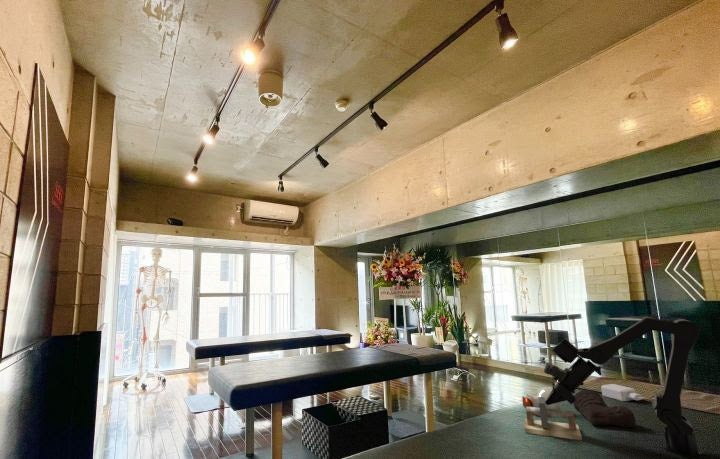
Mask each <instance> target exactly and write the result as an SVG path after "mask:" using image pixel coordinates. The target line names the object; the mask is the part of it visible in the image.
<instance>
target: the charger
mask: <svg viewBox="0 0 720 459" xmlns="http://www.w3.org/2000/svg"><path fill="white" fill-rule="evenodd" d="M600 389H601V394H602V395H601V396H602V397H604V398H605V397H606V398H610V399H614V400H617V401H621V402H628V401H629V402H630V401H642V400H643V399H646V397H643V395H642V394H640V393H637V391H636V389H635V388H634V387H628V386H624V385H620V384H616V383H615V384H614V383H610V384H603V385H601V387H600Z"/></svg>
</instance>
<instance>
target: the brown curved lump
mask: <svg viewBox="0 0 720 459" xmlns="http://www.w3.org/2000/svg"><path fill="white" fill-rule="evenodd" d="M574 396H575V401H574V402H573V403H572V405H573V407H574V409H575V410H576V411H577V412H578V413H579V414H580V415H583V417H585V418H586V419H587V421H589V422H590V424H592V425H595V426H616V427H619V428H625V429H626V428H629V429H630V428H635V427H636V425H637V420H636V417H635V414H634V412H633V411H632V409H630V407H628V406H626V405H613V406H608V404H607V403H606V402H605V400H604V399H603V398H604V397H603V396H602V395H601V394H600V393H598V392H597V391H595V390H592V389H591V390H590V389H584V390H580V391H578V392H575V393H574Z"/></svg>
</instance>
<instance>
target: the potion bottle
mask: <svg viewBox="0 0 720 459" xmlns="http://www.w3.org/2000/svg"><path fill="white" fill-rule="evenodd" d="M552 389H553V387H552V386H542V387H540V388H538V390H537V392H536V395H534V396H532V395H529V394H526V397H525V396H522V405H523V407H524V409H525V410H526V407H536V408H540V407H539V397H545V402H546V400H547V398H548V396H549V395H550V393H551V391H552ZM545 404H546V403H545ZM562 405H563V401H562V402H558V403H555V404H551V405H547V404H546V409H555V410H561V408H562Z"/></svg>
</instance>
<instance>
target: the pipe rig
mask: <svg viewBox="0 0 720 459" xmlns="http://www.w3.org/2000/svg"><path fill="white" fill-rule="evenodd" d="M525 412H526V418H524V434H533V435H539V436H547V437H548V436H549V437H554V438H563V439H570V440H578V441H583V437H582V434H581V431H580V427H579V425H578V424H576V417H575V412H574V410H564V409H560V410H555V409H546V412H547V417H551V418H552V417H553V418H559V419H560V418H562V419H567V423H566V422H558V421H548V428H542V424H541V419H534V416H540V408H536V407H526V409H525Z"/></svg>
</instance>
